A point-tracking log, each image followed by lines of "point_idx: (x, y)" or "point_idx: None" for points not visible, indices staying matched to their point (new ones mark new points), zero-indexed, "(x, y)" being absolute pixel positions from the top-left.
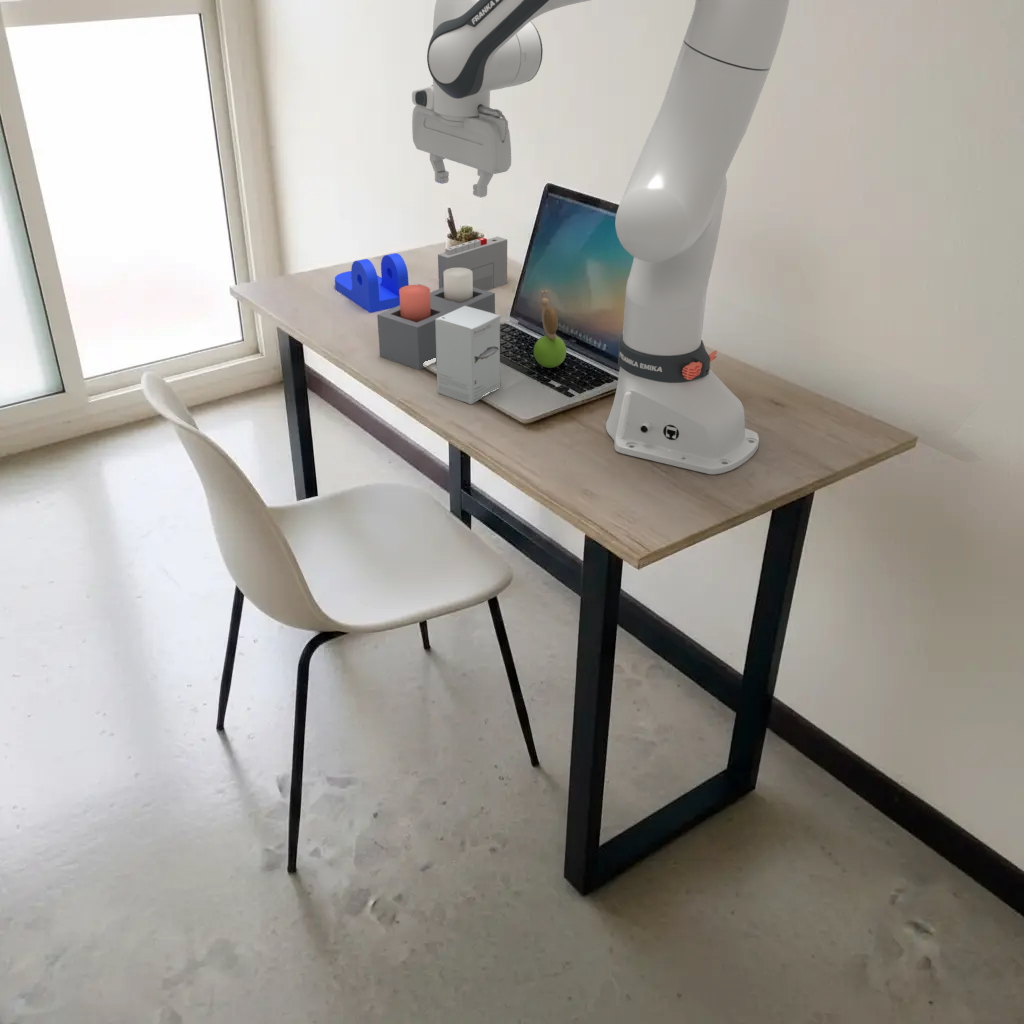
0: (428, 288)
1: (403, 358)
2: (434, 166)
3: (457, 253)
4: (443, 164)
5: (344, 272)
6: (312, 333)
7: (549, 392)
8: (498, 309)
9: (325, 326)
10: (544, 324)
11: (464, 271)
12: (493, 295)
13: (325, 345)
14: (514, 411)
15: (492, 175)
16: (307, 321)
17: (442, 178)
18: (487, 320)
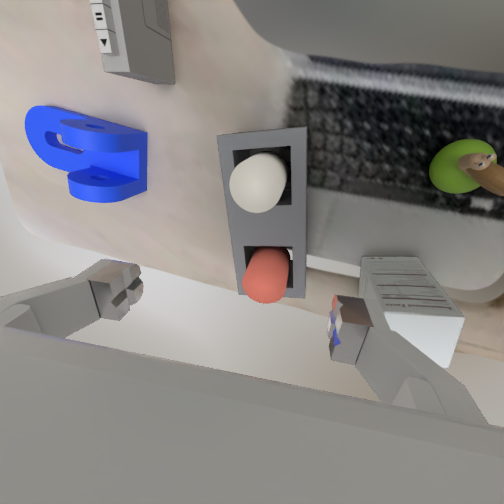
0: (274, 271)
1: None
2: (70, 332)
3: (117, 29)
4: (56, 293)
5: (27, 135)
6: (161, 264)
7: (485, 228)
8: (244, 34)
9: (153, 246)
10: (464, 168)
11: (260, 174)
12: (306, 131)
13: (193, 276)
14: (462, 286)
15: (462, 388)
16: (132, 248)
17: (128, 295)
18: (455, 339)
